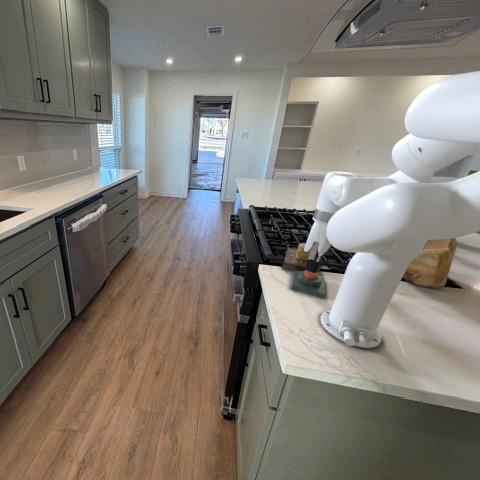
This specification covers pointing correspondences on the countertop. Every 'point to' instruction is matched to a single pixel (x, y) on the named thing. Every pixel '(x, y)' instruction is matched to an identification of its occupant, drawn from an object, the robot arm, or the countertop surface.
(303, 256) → the dial
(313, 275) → the button
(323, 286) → the button box
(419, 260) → the rough brown rock
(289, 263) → the dial panel
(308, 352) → the countertop surface
